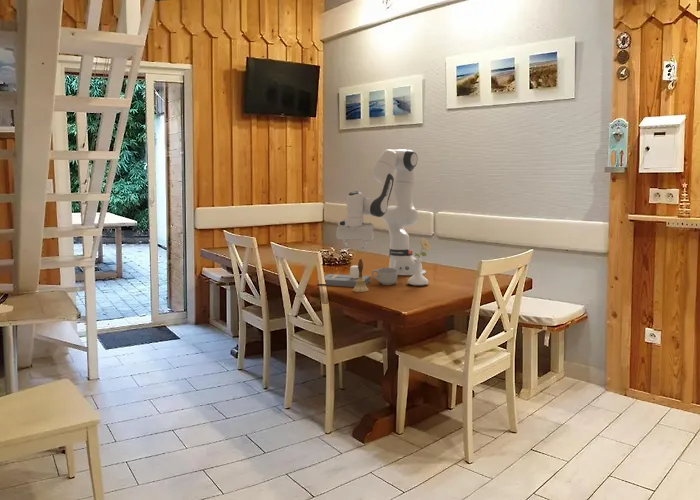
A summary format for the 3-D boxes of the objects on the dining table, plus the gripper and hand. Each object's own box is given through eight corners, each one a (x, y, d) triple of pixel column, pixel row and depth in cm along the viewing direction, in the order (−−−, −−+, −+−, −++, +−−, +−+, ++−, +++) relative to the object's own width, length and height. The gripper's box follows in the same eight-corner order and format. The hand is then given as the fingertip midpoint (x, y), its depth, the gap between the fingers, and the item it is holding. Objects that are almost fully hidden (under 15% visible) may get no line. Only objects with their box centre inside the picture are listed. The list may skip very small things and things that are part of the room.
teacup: (399, 282, 331) (400, 268, 330) (394, 286, 321) (394, 271, 320) (375, 281, 336) (375, 266, 334) (369, 285, 325) (369, 270, 324)
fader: (360, 276, 330) (360, 265, 329) (357, 278, 325) (357, 267, 324) (353, 276, 331) (353, 265, 330) (350, 278, 326) (350, 266, 325)
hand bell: (350, 289, 314) (349, 258, 312) (365, 288, 317) (365, 257, 315) (356, 292, 307) (355, 261, 304) (371, 291, 309) (371, 260, 307)
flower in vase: (414, 287, 317) (415, 240, 314) (402, 284, 327) (403, 237, 324) (435, 285, 323) (436, 238, 320) (423, 281, 333) (423, 236, 330)
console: (370, 281, 334) (370, 276, 334) (361, 287, 319) (361, 281, 319) (329, 279, 342) (329, 273, 341) (318, 284, 327) (318, 278, 326)
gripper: (375, 222, 323) (375, 248, 325) (339, 221, 330) (339, 246, 332) (372, 223, 317) (371, 249, 319) (335, 222, 324) (335, 248, 326)
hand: (354, 248), depth 326 cm, fingers open, 8 cm apart
